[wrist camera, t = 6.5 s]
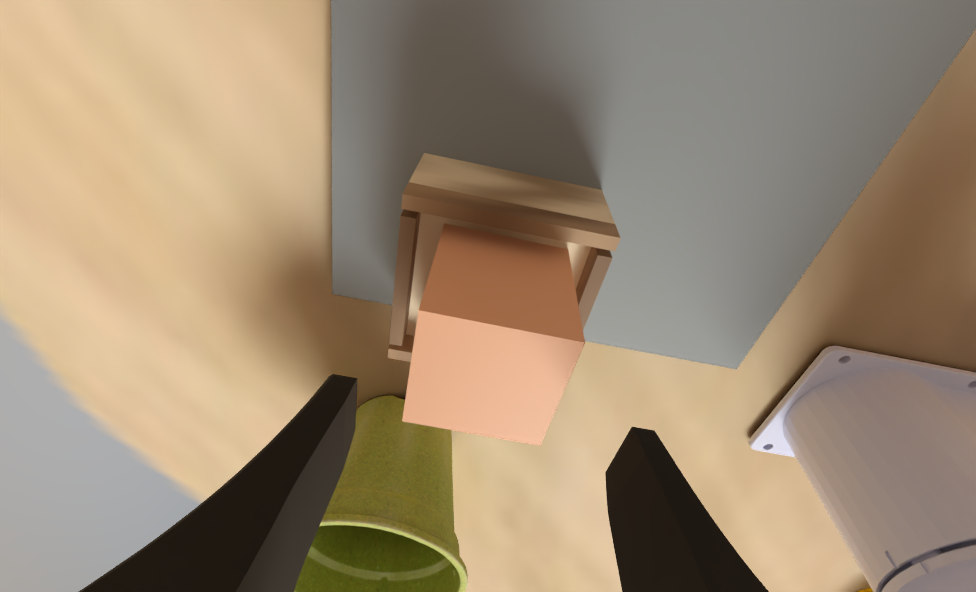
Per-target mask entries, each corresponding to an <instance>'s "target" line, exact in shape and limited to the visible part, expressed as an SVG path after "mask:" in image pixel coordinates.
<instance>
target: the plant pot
mask: <svg viewBox="0 0 976 592" xmlns="http://www.w3.org/2000/svg"><path fill="white" fill-rule="evenodd" d="M404 405H405V400H404V399H400V398H397V397H395V396H393V395H389V396H382V397H377V398H374V399H371V400H369V401H367V402H365V403H364V404H362V405H361V406H360V407H359V408H358V409H357V410H356V425H355V433H354V436H353V440H352V443H351V446H350V450H349V453H348V456H347V459H346V463H345V466H344V469H343V471H342V474H341V476H340V479H339V481H338V483H337V486H336V488H335V490H334V493H333V495H332V498H331V500H330V502H329V505H328V507H327V509H326V512H325V514H324V516H323V519H322V521H321V523H320V526H319V528H318V531H317V533H316V535H315V538H314V540H313V542H312V545H311V547H310V549H309V552H308V554H307V557H306V559H305V562H304V564H303V567H302V570H301V572H300V575H299V578H298V581H297V584H296V587H295V590H294V592H465V591H466V588H467V584H468V576H467V570H466V566H465V565H464V563H463V561H462V559H461V558H460V556H459V544H458V540H457V537H456V534H455V532H454V512H453V482H452V437H451V430H448V429H443V428H437V427H431V426H426V425H420V424H414V423H409V422H403V421H402V418H403V412H404Z"/></svg>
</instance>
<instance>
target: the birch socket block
mask: <svg viewBox="0 0 976 592" xmlns="http://www.w3.org/2000/svg"><path fill="white" fill-rule="evenodd" d="M401 209H404V210H403V212H402V214H401V216H400V227H399V238H398V249H397V259H396V270H395V281H394V292H393V303H392V314H391V325H390V336H389V344H390V345H389V348H388V358H391V359H396V360H402V361H407V362H411V358H412V351H413V344H414V337H415V331H416V324H417V317H418V310H419V307H420V304H421V300H422V297H423V293H424V290H425V287H426V283H427V280H428V277H429V273H430V270H431V267H432V263H433V260H434V256H435V253H436V250H437V246H438V243H439V240H440V236H441V233H442V230H443V226H444V223H446V224H450V225H455V226H460V227H465V228H469V229H474V230H479V231H484V232H488V233H493V234H498V235H503V236H507V237H512V238H517V239H522V240H526V241H531V242H536V243H541V244H545V245H550V246H555V247H560V248H564V249H568V251H569V257H570V262H571V268H572V273H573V279H574V284H575V290H576V295H577V301H578V306H579V312H580V317H581V323H582V328H583V329H584V327H585V325H586V322H587V320H588V317H589V315H590V312H591V310H592V307H593V305H594V302H595V300H596V298H597V295H598V293H599V290H600V288H601V285H602V283H603V280H604V278H605V275H606V273H607V270H608V268H609V266H610V263H611V261H612V255H611V252H610V251H616V248H617V246H618V243H619V241H620V239H621V238H620V235H619V233H618V230H617V227H616V225H615V222H614V220H613V217H612V215H611V212H610V209H609V207H608V204H607V202H606V199H605V197H604V194H603V191H602V190H599V189H595V188H590V187H585V186H580V185H575V184H571V183H566V182H561V181H556V180H552V179H547V178H542V177H537V176H532V175H528V174H523V173H518V172H513V171H508V170H504V169H499V168H494V167H489V166H485V165H480V164H475V163H470V162H465V161H461V160H456V159H451V158H446V157H441V156H437V155H432V154H427V153H424V154H423V156H422V158H421V160H420V162H419V164H418V165H417V167H416V169H415V171H414V173H413V175H412V177H411V179H410V181H409V183H408V184H407V186H406V188H405V190H404V192H403V194H402V205H401Z"/></svg>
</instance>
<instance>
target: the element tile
mask: <svg viewBox="0 0 976 592" xmlns="http://www.w3.org/2000/svg"><path fill="white" fill-rule="evenodd" d="M858 592H873V591H872V589H871V588H868V589H864V590H860V591H858Z"/></svg>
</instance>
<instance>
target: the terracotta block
mask: <svg viewBox="0 0 976 592" xmlns="http://www.w3.org/2000/svg"><path fill="white" fill-rule="evenodd" d="M584 344H585V339H584V334H583V328H582V323H581V317H580V312H579V306H578V301H577V295H576V290H575V284H574V279H573V273H572V268H571V262H570V257H569V251H568V249H564V248H560V247H555V246H550V245H545V244H541V243H536V242H531V241H526V240H522V239H517V238H512V237H507V236H503V235H498V234H493V233H488V232H484V231H479V230H474V229H469V228H465V227H460V226H455V225H450V224H446V223H444V226H443V230H442V233H441V236H440V240H439V243H438V246H437V250H436V253H435V256H434V260H433V263H432V267H431V270H430V273H429V277H428V280H427V283H426V287H425V290H424V293H423V297H422V300H421V304H420V307H419V310H418V317H417V324H416V331H415V337H414V344H413V351H412V358H411V364H410V371H409V378H408V385H407V391H406V398H405V405H404V412H403V418H402V421H403V422H409V423H414V424H420V425H426V426H431V427H437V428H443V429H448V430H454V431H459V432H465V433H471V434H476V435H482V436H488V437H493V438H499V439H505V440H510V441H516V442H522V443H527V444H533V445H538V446H540V445H541V443H542V441H543V439H544V436H545V434H546V432H547V429H548V427H549V425H550V422H551V420H552V418H553V416H554V413H555V411H556V409H557V406H558V404H559V402H560V399H561V397H562V395H563V393H564V390H565V388H566V386H567V383H568V381H569V379H570V376H571V374H572V372H573V370H574V367H575V365H576V363H577V360H578V358H579V356H580V354H581V351H582V349H583V347H584Z"/></svg>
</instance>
